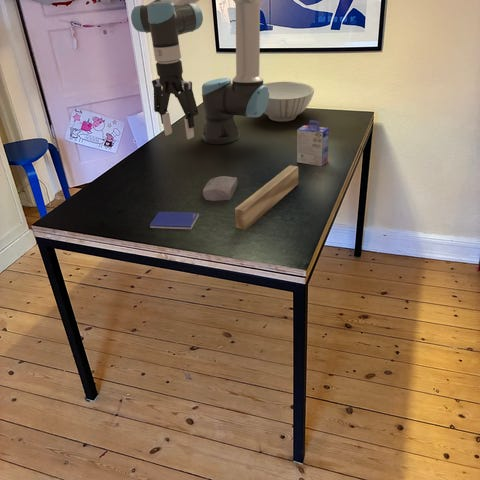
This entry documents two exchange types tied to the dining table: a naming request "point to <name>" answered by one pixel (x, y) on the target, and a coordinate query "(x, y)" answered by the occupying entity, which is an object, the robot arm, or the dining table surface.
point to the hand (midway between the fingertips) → (179, 135)
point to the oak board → (266, 197)
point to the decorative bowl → (287, 99)
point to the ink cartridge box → (312, 144)
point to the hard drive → (174, 220)
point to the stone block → (220, 188)
